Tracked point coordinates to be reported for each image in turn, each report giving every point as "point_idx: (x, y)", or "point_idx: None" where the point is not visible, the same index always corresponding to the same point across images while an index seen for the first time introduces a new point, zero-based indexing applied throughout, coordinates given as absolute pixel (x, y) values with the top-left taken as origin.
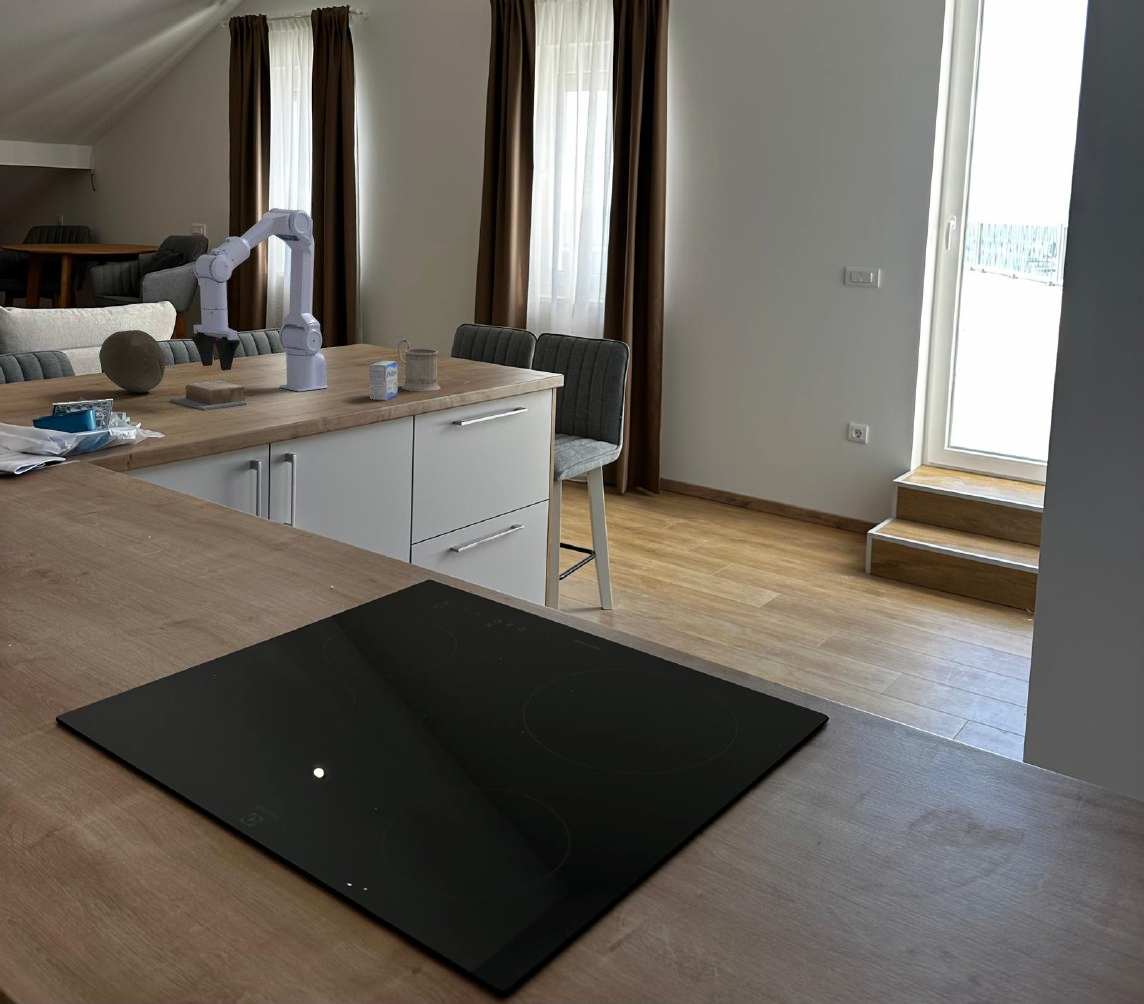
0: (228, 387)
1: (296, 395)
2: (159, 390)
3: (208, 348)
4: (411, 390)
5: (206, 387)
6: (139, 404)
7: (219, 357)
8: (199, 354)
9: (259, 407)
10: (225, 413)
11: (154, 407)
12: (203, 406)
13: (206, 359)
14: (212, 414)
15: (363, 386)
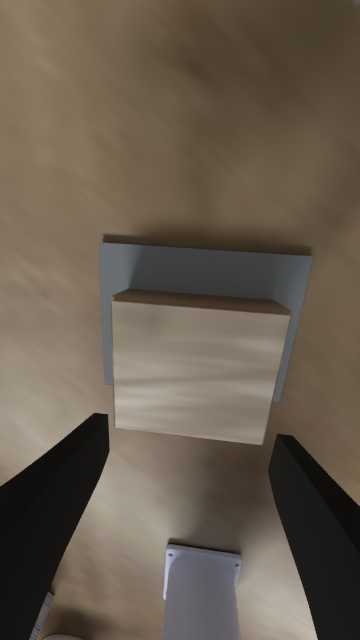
0: (116, 378)
1: (140, 518)
2: None
3: (333, 614)
4: (59, 635)
5: (165, 322)
6: (351, 120)
7: (55, 471)
8: (350, 500)
9: (58, 380)
10: (27, 261)
11: (256, 132)
12: (122, 257)
13: (290, 485)
14: (31, 220)
15: (140, 627)
